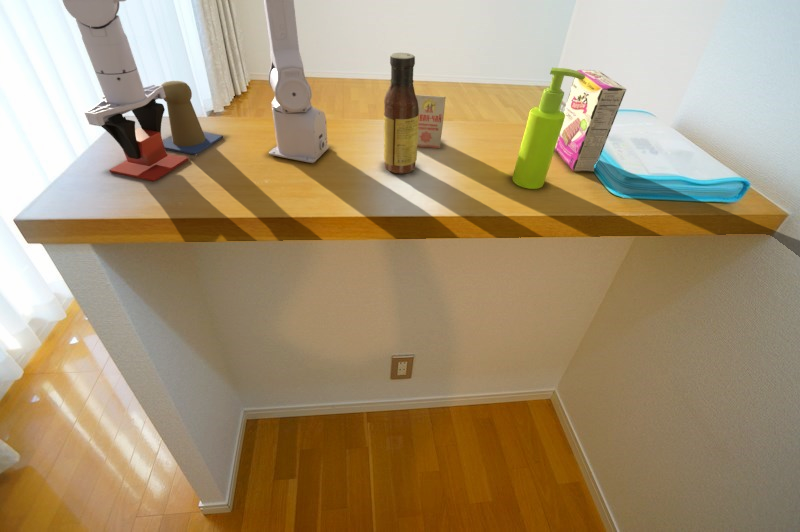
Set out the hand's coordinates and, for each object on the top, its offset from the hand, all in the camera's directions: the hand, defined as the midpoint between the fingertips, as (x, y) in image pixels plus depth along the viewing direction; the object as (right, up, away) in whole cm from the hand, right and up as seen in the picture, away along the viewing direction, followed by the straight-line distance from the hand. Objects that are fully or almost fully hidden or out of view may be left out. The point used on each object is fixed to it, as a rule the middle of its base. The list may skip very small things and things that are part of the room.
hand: (145, 151), depth 73 cm
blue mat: (+3, +5, +10) cm, 11 cm away
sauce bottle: (+45, -1, +7) cm, 45 cm away
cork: (+3, +5, +10) cm, 11 cm away
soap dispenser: (+70, -4, +6) cm, 70 cm away
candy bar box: (+81, +2, +14) cm, 83 cm away
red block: (0, -1, +1) cm, 1 cm away
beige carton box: (+50, +6, +16) cm, 53 cm away
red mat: (0, -2, +2) cm, 3 cm away
